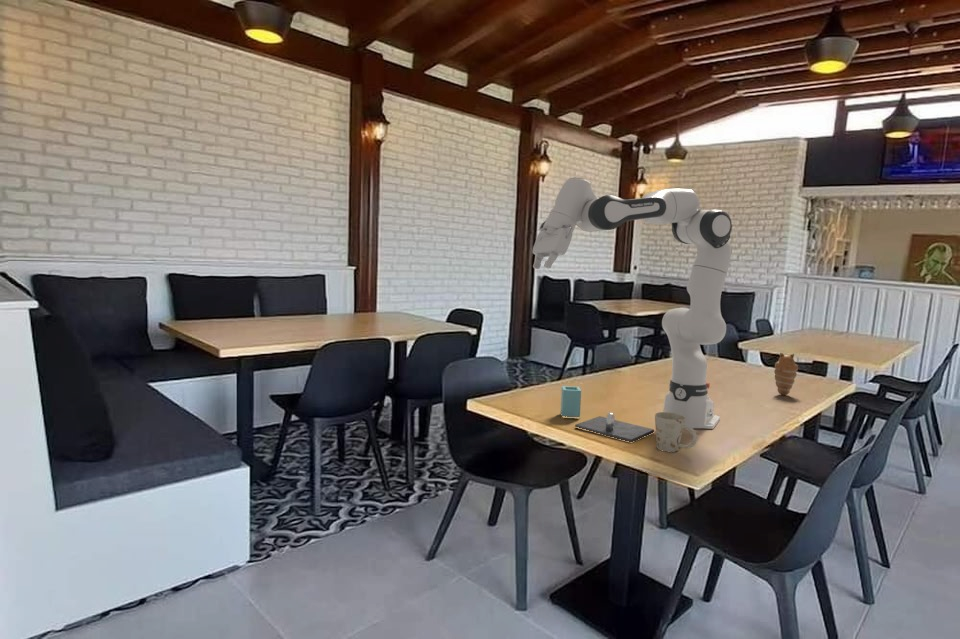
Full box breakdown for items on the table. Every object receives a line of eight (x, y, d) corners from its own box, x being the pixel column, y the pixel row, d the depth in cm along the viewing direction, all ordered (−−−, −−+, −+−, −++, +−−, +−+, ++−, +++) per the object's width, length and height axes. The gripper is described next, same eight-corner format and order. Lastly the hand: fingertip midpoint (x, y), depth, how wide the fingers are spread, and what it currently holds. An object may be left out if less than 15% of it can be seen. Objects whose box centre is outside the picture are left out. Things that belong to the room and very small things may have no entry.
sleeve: (560, 413, 205) (561, 386, 204) (577, 414, 205) (579, 386, 204) (562, 418, 199) (563, 390, 198) (579, 419, 199) (581, 390, 198)
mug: (659, 442, 177) (661, 410, 176) (701, 452, 169) (703, 418, 168) (648, 449, 170) (650, 415, 169) (691, 459, 163) (693, 424, 161)
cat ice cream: (773, 396, 244) (777, 353, 242) (770, 392, 251) (774, 350, 249) (796, 398, 241) (801, 355, 239) (793, 394, 249) (797, 352, 247)
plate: (599, 419, 200) (600, 401, 199) (653, 433, 186) (655, 413, 186) (575, 428, 189) (576, 408, 188) (631, 443, 175) (632, 422, 174)
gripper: (582, 228, 169) (563, 271, 168) (555, 234, 188) (538, 272, 188) (564, 218, 167) (544, 262, 166) (538, 225, 187) (521, 264, 186)
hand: (541, 268), depth 177 cm, fingers open, 8 cm apart
